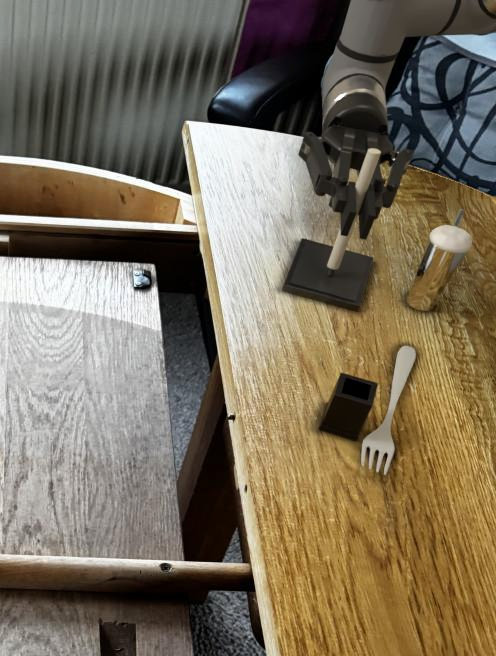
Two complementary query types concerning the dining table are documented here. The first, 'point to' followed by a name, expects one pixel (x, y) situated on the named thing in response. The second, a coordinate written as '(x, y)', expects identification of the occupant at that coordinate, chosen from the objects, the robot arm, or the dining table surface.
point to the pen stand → (348, 406)
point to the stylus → (361, 191)
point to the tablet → (316, 284)
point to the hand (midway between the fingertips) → (358, 225)
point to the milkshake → (438, 264)
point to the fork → (389, 412)
